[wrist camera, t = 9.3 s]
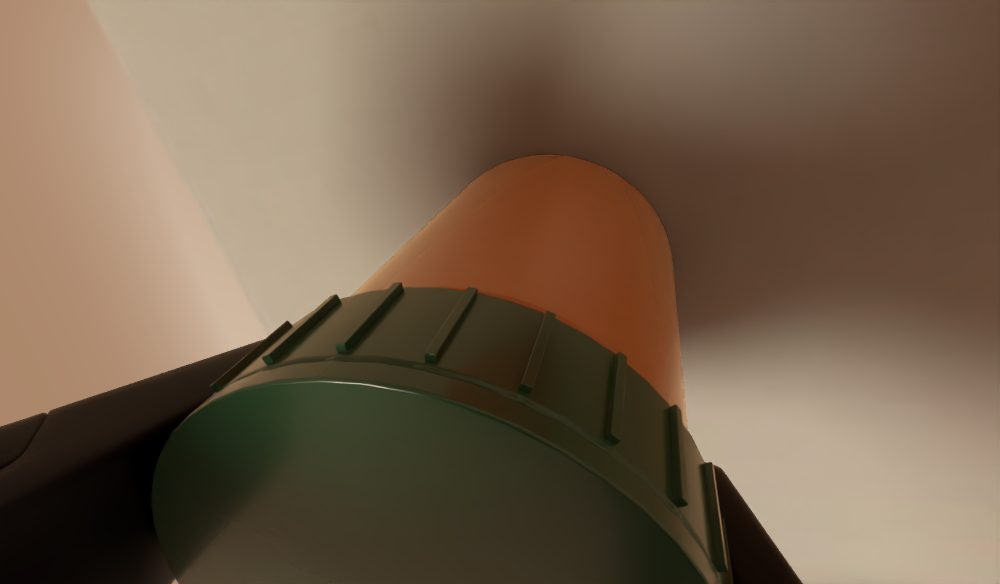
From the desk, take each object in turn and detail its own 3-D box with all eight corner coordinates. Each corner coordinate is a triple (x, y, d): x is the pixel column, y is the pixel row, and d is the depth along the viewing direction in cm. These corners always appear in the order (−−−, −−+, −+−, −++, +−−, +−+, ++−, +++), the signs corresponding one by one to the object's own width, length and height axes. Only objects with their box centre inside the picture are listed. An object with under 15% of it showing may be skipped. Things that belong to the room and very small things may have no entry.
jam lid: (423, 154, 5) (326, 213, 4) (843, 559, 6) (907, 740, 5) (182, 449, 8) (78, 546, 7) (484, 684, 9) (451, 815, 8)
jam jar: (667, 375, 14) (686, 768, 7) (455, 362, 16) (282, 671, 8) (678, 147, 12) (728, 385, 4) (422, 159, 13) (128, 347, 6)
